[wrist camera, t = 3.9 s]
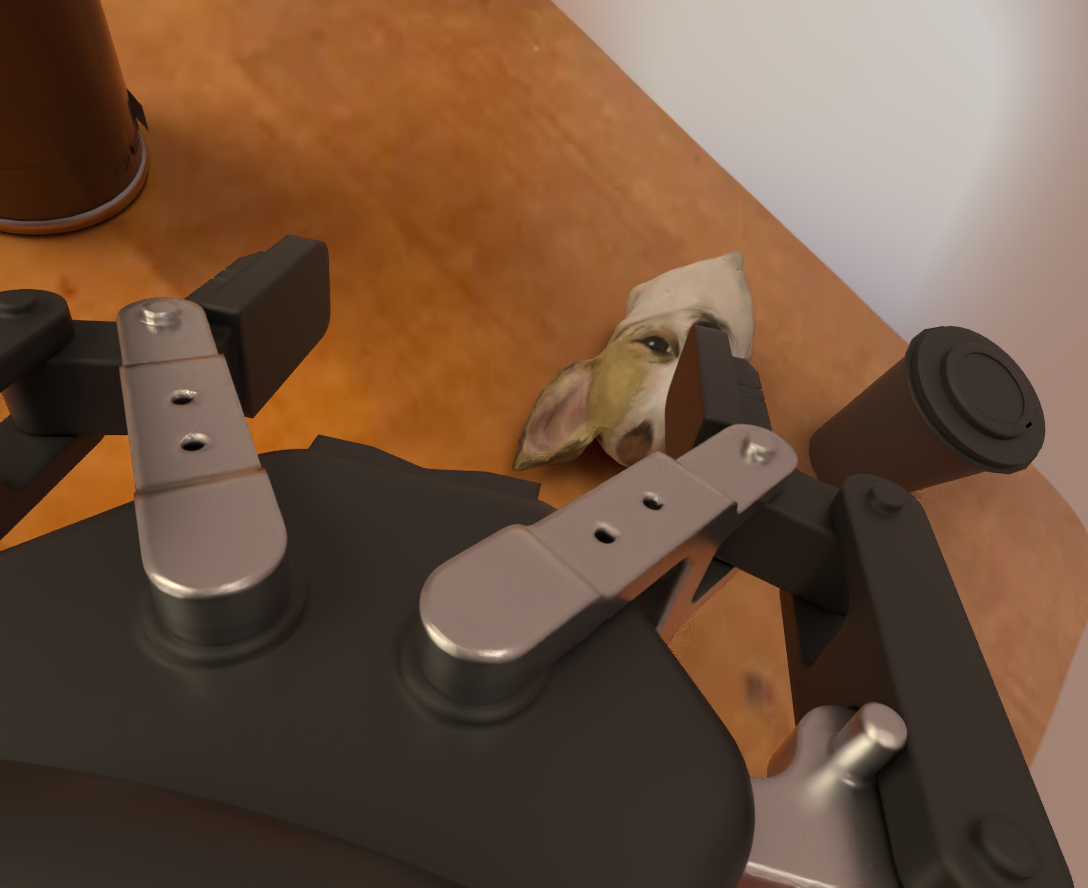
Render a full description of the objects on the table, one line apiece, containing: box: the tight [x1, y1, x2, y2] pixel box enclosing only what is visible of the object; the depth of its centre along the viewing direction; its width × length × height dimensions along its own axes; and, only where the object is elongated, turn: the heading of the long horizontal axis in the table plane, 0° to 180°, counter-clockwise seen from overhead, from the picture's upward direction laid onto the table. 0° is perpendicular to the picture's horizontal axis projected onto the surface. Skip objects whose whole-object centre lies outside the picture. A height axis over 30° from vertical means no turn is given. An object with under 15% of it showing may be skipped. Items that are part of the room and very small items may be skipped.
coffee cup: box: [810, 326, 1045, 492], centre depth 35 cm, size 8×8×10 cm
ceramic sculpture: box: [512, 252, 755, 471], centre depth 33 cm, size 11×9×15 cm
